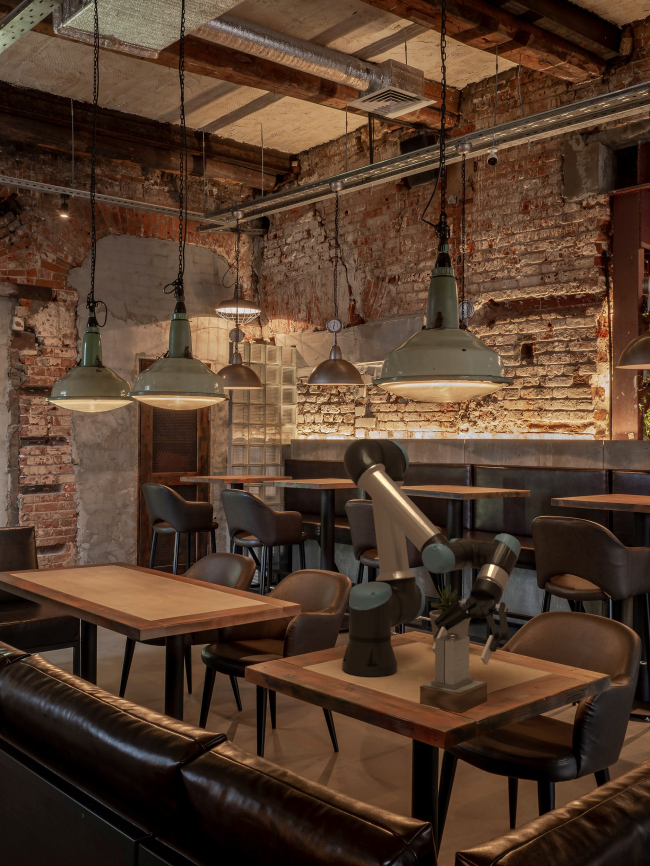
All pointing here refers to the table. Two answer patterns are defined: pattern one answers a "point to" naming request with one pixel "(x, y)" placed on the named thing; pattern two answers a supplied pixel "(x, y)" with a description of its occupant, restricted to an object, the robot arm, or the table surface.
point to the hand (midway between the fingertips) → (458, 656)
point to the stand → (454, 696)
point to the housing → (452, 662)
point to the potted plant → (447, 601)
